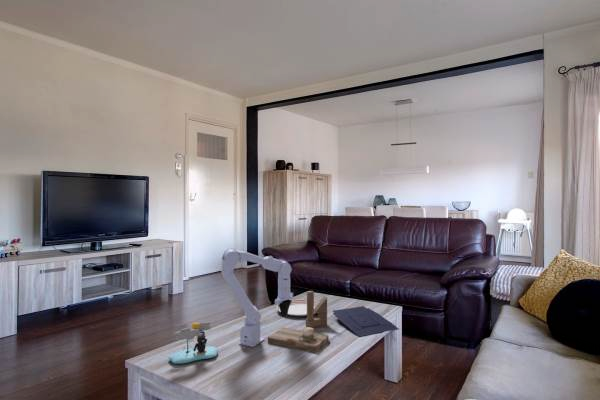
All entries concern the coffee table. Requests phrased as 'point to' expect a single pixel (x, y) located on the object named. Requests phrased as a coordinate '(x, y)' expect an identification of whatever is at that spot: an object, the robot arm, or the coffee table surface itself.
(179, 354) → the penguin figurine
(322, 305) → the wooden block
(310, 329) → the beige cylinder
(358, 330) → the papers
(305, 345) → the board
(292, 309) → the dinner plate
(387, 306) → the coffee table surface
